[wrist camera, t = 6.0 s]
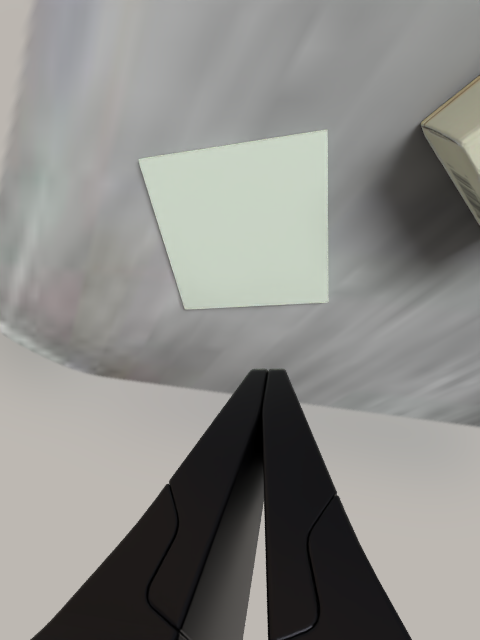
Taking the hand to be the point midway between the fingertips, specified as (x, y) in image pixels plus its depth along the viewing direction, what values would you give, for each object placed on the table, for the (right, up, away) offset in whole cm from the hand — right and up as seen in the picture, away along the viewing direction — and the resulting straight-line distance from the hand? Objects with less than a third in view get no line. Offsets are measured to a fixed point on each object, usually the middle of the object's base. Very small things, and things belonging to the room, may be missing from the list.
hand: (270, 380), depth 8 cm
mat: (-1, +6, +8) cm, 10 cm away
